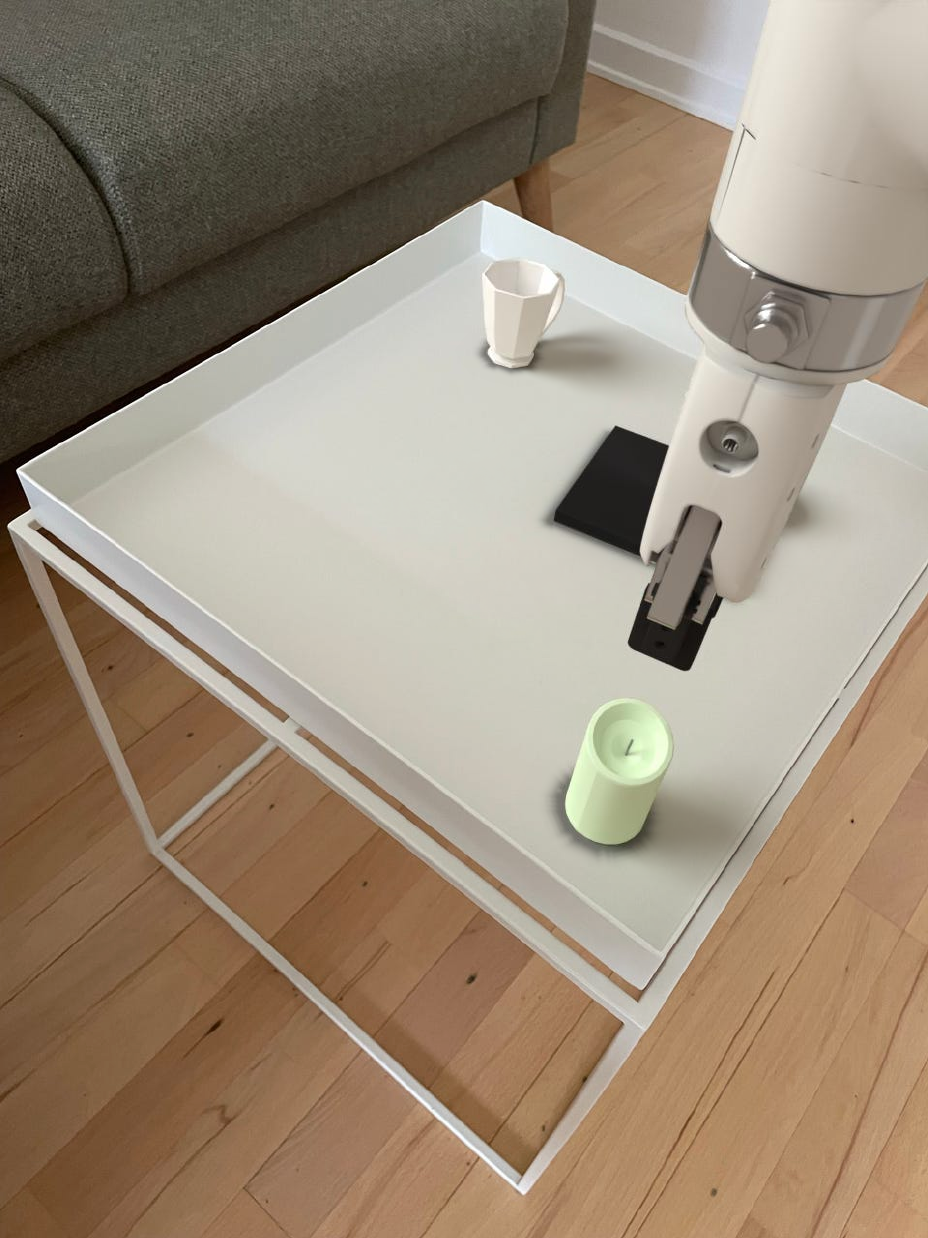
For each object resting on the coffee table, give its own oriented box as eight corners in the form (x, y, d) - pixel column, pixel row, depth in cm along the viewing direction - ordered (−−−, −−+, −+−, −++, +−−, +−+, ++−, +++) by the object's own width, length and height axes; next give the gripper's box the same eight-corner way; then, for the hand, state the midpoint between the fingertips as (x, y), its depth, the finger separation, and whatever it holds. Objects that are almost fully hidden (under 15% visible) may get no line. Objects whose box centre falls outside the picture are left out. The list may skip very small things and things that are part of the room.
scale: (783, 497, 83) (795, 469, 80) (737, 596, 74) (749, 568, 72) (614, 433, 86) (621, 405, 84) (553, 520, 78) (559, 492, 76)
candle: (646, 850, 59) (680, 776, 53) (564, 841, 59) (589, 766, 53) (642, 779, 62) (674, 702, 56) (564, 771, 62) (588, 692, 56)
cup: (458, 351, 93) (465, 272, 87) (528, 316, 98) (539, 239, 92) (512, 385, 90) (524, 306, 84) (581, 347, 95) (597, 270, 89)
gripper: (856, 449, 28) (691, 787, 42) (943, 229, 39) (788, 559, 52) (617, 364, 30) (534, 714, 44) (761, 175, 40) (657, 507, 54)
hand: (673, 627), depth 48 cm, fingers open, 3 cm apart
